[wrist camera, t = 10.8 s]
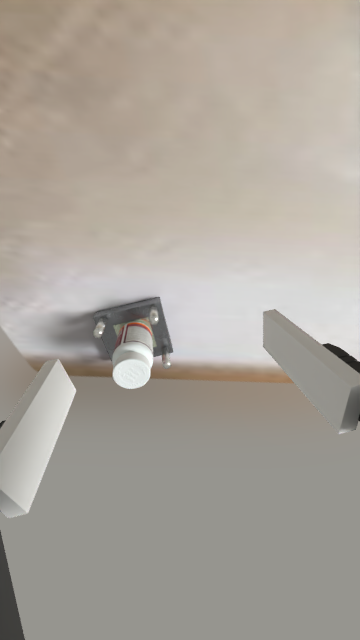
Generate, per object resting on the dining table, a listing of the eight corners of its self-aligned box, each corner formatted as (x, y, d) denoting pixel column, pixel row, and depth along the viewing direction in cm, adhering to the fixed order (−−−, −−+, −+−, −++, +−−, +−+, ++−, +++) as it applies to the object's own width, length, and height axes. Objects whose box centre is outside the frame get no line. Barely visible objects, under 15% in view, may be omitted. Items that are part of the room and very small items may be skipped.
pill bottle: (129, 354, 41) (122, 398, 31) (111, 329, 38) (99, 368, 28) (157, 341, 41) (161, 381, 31) (142, 314, 38) (140, 349, 28)
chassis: (96, 311, 40) (85, 330, 33) (159, 296, 40) (161, 312, 33) (115, 359, 44) (110, 384, 38) (171, 345, 45) (176, 367, 38)
